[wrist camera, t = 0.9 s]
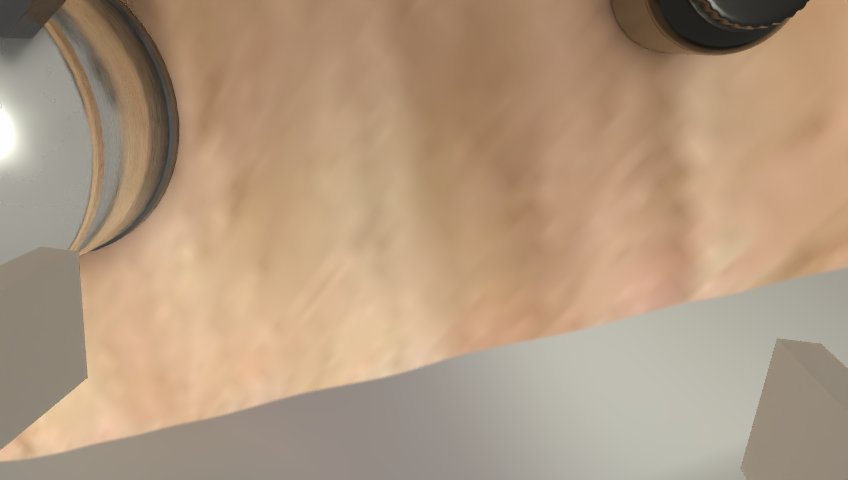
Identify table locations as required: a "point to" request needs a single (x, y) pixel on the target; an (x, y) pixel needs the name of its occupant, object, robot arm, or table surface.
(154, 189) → the pot
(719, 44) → the supplement bottle
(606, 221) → the table surface
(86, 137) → the lid
